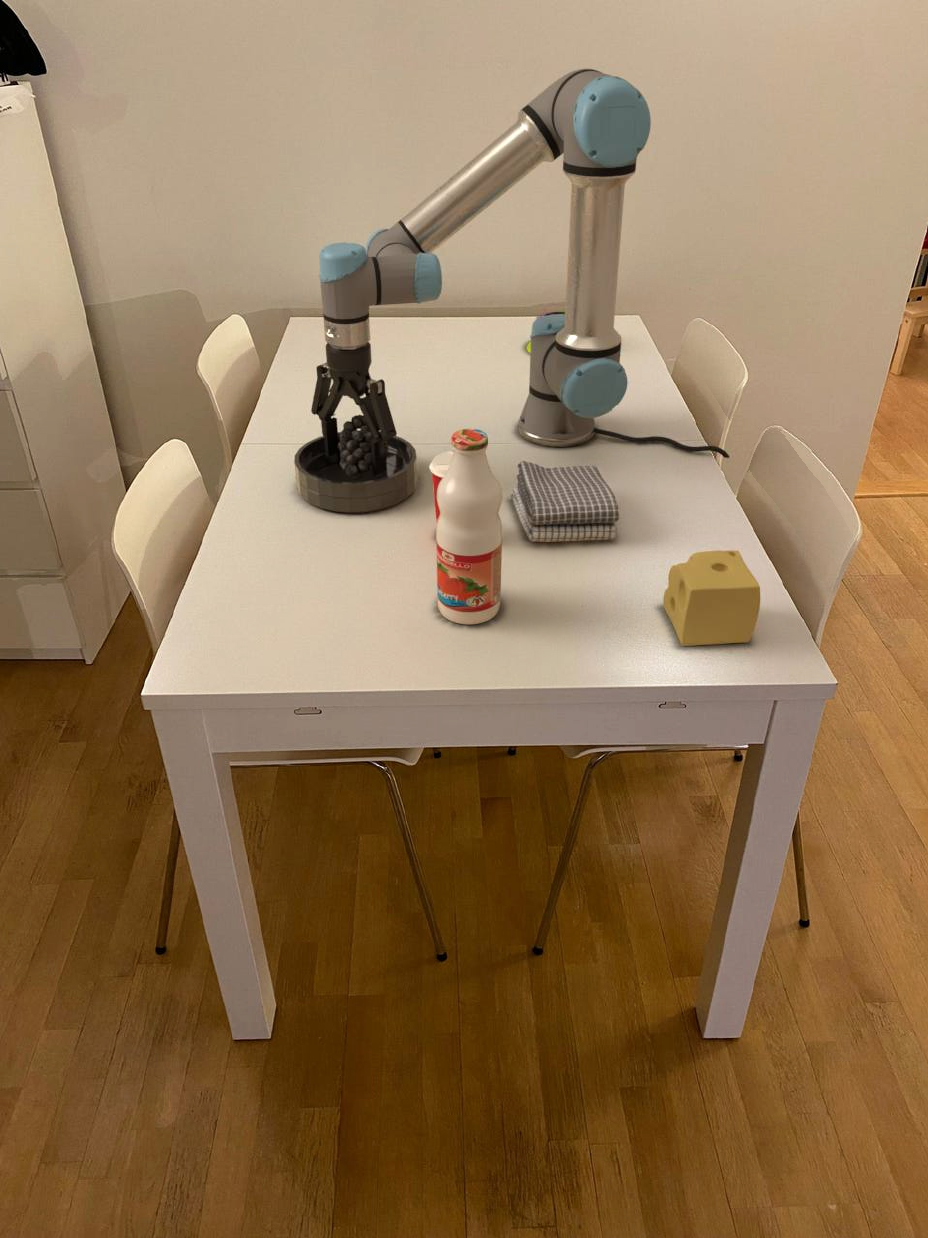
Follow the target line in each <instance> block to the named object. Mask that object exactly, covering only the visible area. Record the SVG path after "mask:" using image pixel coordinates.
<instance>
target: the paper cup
mask: <svg viewBox="0 0 928 1238" xmlns="http://www.w3.org/2000/svg"><path fill="white" fill-rule="evenodd" d="M453 453H454V450H453V451H452V450H451V451H450V450H449V451H445V452H440V453H439V454H437V455H435V456H434V458H433V459H432V460H431V463H430V464H429V466H428V468H429V470H430V472H431V474H432V486H433V498H434V509H435V510H434V511H435V521H436V524H437V521H438V518H439V516H440V509H439V506H438V503H437V488H438V485H439V483H440V481H441V480H442V478H443V477H444V475H445V474H446V472H447V470H448V468H449V465H450V462H451V459H452V456H453Z"/></svg>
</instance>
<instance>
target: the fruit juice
mask: <svg viewBox="0 0 928 1238" xmlns="http://www.w3.org/2000/svg"><path fill="white" fill-rule="evenodd" d="M450 444H451V449H452V450H453V451H454V453H453V456H452V459H451V462H450V465H449V468H448V470H447V472H446V474H445V475H444V477H443V478H442V480H441V481H440V483H439V485H438V488H437V503H438V506H439V509H440V516H439V518H438V521H437V523H436V530H435V531H436V532H435V540H436V541H435V542H436V543H435V544H436V593H437V594H436V595H437V597H436V599H437V600H436V601H437V607H438V610H439V613H440V614H441V615H442V616H443V617H444V618H445V619H447V620H449V621H451V622H453V623H456V624H461V625H478V624H483V623H486V622H488V621H490V620H491V619H493V618H494V617H496V616H497V614H498V612H499V610H500V607H501V593H502V592H501V591H502V559H503V556H502V553H503V524H502V523H503V522H502V519H501V516H500V514H499V512H500V508H501V506H502V502H503V488H502V486H501V483H500V482H499V479H498V478H497V477H496V476H495V475H494V473H493V472H492V469H491V466H490V464H489V460H488V457H487V452H486V450H487V449H488V447H489V437H488V434H487V432H485V431H483V430H480V429H476V428H463V429H459V430H456V431H454V432H453V433H452V435H451V441H450Z"/></svg>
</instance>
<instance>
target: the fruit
mask: <svg viewBox="0 0 928 1238" xmlns="http://www.w3.org/2000/svg"><path fill="white" fill-rule="evenodd" d="M342 427H343V429H342V430H341V431H339V432H340V433H339V434H338V435H337V438H338V440H339V441H341V442H340V443H339V444H338V448H339V449H340V452H341V454H340V458H341V461H340V465H341V467H342V469H343V471H344V472H346V473H347V475H348V476H351V477H352V478H353V479H356V480H358V479H360V478H361V477H362V472H368V471H369V470H370V465H372V452H371V439H373V438H374V436H373V434H372V432H371V430H370V428H369V426H368V424H367V421H366V419H365V417H364V415H363V414H357V415H353V416H352V417H351V419H350V421H349V420H346V421H345V422H344V423H343V426H342ZM358 430H360V431H358ZM379 433H380V430H379Z"/></svg>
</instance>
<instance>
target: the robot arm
mask: <svg viewBox="0 0 928 1238" xmlns="http://www.w3.org/2000/svg"><path fill="white" fill-rule="evenodd" d="M651 124H652V119H651V112H650V108H649V104H648V102H647V100H646V98H645V96H644V95H643V94H642V92H641V91H640V90H639V89H638V88H637V87H635V86H634V85H633V84H632V83H630V82H629V81H628V80H626V79H624V78H622V77H619V76H614V75H611V74H607V73H605V72H602V71H599V70H598V69H597V70H596V69H593V68H579V69H576V70H572V71H570V72H567V73H566V74H564V75H562V76H561V77H559V78H558V79H556V80H555V81H554V82H553V83H551V84H550V85H549V86H547V87H546V88H545V89H544V90H543V91H541V92H540V93H539V94H538V95H537V96H535V98H533V99H532V100H531V101H530V102H529V103H527V104H526V105H524V107H522V108H521V110H519V111H518V114H517V120H516V122H515V123H513V125H511V126H510V127H509V128H507V130H505V131H504V132H503V133H502V134H501V135H499V137H497V138H496V139H495V140H494V141H492V142H491V143H490V144H489V145H488V146H486V147H485V148H484V149H483V150H482V151H481V152H479V153H478V154H477V155H476V156H474V158H472V159H471V160H470V161H468V163H466V164H465V165H464V166H463V167H461V168H460V169H459V170H458V171H457V172H456V173H455V174H453V175H452V176H451V177H449V179H447V180H446V181H445V182H444V183H442V184H441V185H440V186H439V187H438V188H437V189H435V190H434V191H433V192H432V193H431V194H430V195H428V196H427V197H426V198H425V199H423V201H421V202H420V203H418V204H417V205H416V206H415V207H414V208H413V209H412V210H411V211H409V212H408V213H407V214H406V215H405V216H403V217H402V218H401V219H400V220H398V221H397V222H395V224H393V225H392V226H391V227H390V228H381V229H378V230H376V231H375V232H373V233H372V234H371V235H370V236H369V238H368V239H367V241H366V244H365V246H363V245H362V244H359V243H356V242H335V243H330V244H327V245H326V246H324V247H323V248H322V249H321V250H320V252H319V282H320V283H319V285H320V295H321V305H322V315H323V326H324V327H323V329H324V341H325V342H326V344H325V359H326V362H324V363H321V364H319V365H317V366H316V383H315V388H314V394H313V398H312V403H311V408H310V412H311V414H312V415H314V416H315V415H317V416H318V419H319V420H320V424H321V426H320V427H321V435H322V436H324V440H325V452H326V456H328V457H329V456H331V455H333V454H335V453H337V452H339V448H338V444H339V441H338V438H337V435H338V432H339V431H338V430H339V429H338V418H337V417H334V416H336V415H337V414H336V410H337V408H338V406H339V405H340V402H341V401H342V399H343V397H348V398H350V399H352V400H353V401H354V404H355V405H356V406H358V407H359V409H360V411H361V414H362V416H363V415H364V417H365V419H366V421H367V424H368V426H369V428H370V430H371V432H372V434H373V436H374V438H373V439H371V452H372V470H373V474H374V475H377V474H379V473H381V472H383V471H385V470H386V455H387V454H388V448H387V447H388V445H387V440H388V439H390V438H392V437H394V436H397V434H398V433H397V429H396V426H395V422H394V419H393V416H392V412H391V408H390V405H389V401H388V398H387V395H386V383H385V381H384V379H378V380H376V379H373V378H372V377H371V375H370V368H371V365H372V361H373V360H372V345H371V343H370V341H371V327H370V326H371V325H370V324H371V323H370V307H373V306H386V305H390V306H391V305H403V304H405V305H406V304H419V305H420V304H421V303H427V302H434V301H437V300H438V299H439V298H440V296H441V294H442V291H443V290H442V289H443V273H442V267H441V262H440V259H439V257H438V255H436V254H435V253H433V252H434V251H436V250H437V249H439V248H440V247H441V246H442V245H443V244H445V243H446V242H447V241H448V240H449V239H451V238H452V237H454V235H455V234H457V233H458V232H459V231H460V230H462V229H463V228H464V227H465V226H466V225H467V224H469V223H470V222H471V221H473V220H474V219H475V218H476V217H478V216H479V215H480V214H481V213H482V212H484V211H485V210H486V209H487V208H488V207H490V206H491V205H492V204H494V202H496V201H497V200H498V199H499V198H500V197H502V196H503V195H504V194H506V193H507V192H508V191H509V190H511V189H512V188H513V187H514V186H515V185H516V184H518V183H519V182H520V181H521V180H523V179H524V178H525V177H526V176H527V175H529V174H530V173H531V172H532V171H534V170H535V169H536V168H537V167H539V166H540V165H541V164H542V163H543V162H546V163H547V162H548V163H553V162H555V160H557V159H558V158H559V157H560V156H562V155H563V156H562V157H563V158H562V159H563V160H562V161H563V162H562V172H563V174H564V175H565V176H566V177H567V178H568V179H569V180H570V181H569V182H571V189H570V190H571V191H570V207H569V209H570V211H569V230H568V231H569V233H568V252H567V254H568V255H567V271H566V292H565V309H564V312H565V314H554V315H547V316H543V315H542V317H538V318H537V319H536V318H535V320H534V321H533V322H532V326H531V332H530V333H531V334H530V335H529V338H530V342H531V353H529V354H530V355H529V356H530V357H529V384H528V386H529V387H528V395H527V398H526V400H525V402H524V405H523V407H522V408H523V409H522V411H521V412H520V416H519V419H518V434H519V435H520V436H521V437H522V438H523V439H525V440H527V441H528V442H530V443H533V444H536V445H540V446H545V447H555V448H565V447H575V446H578V445H581V444H585V443H587V442H589V441H590V440H592V439H593V438H594V435H595V434H598V435H601V436H602V435H603V436H606V437H611V438H615V439H619V440H621V441H625V442H631V443H649V442H650V443H651V442H660V443H665V444H669V445H671V446H673V447H675V448H677V449H680V450H682V451H685V452H692V453H693V452H695V453H696V452H715V453H718V454H720V455H721V456H722V457H723V458H725V459H729V458H730V455H729V453H727V452H726V450H724V449H723V448H721V447H719V446H716V445H701V446H700V445H699V446H691V445H685V444H683V443H680V442H679V441H676V440H674V439H672V438H669V437H665V436H657V435H655V436H653V435H652V436H643V437H642V436H641V437H637V436H636V437H635V436H631V435H625V434H621V433H618V432H614V431H610V430H605V429H601V428H596V421H595V418H599V417H602V416H604V415H608V414H609V413H610V412H612V411H613V409H615V407H616V406H618V405H620V403H621V402H622V400H623V398H625V395H626V392H627V389H628V383H629V381H628V375H627V372H626V369H625V368H624V366H623V365H622V364H621V351H622V335H621V334H620V333H619V332H618V330H616V329H615V327H614V326H615V315H616V303H617V302H616V301H617V289H618V279H619V277H618V276H619V264H620V263H619V262H620V252H621V251H620V250H621V239H622V238H621V237H622V225H623V213H624V202H625V201H624V200H625V189H626V188H625V187H626V183H627V181H629V180H630V179H631V178H632V176H634V175H635V174H636V171H637V170H636V169H637V159H638V156H639V155H640V153H641V152H642V150H644V149H645V146H646V145H647V142H648V140H649V137H650V133H651ZM331 384H332V385H331ZM364 395H365V396H364ZM363 396H364V397H363ZM379 431H380V433H379Z"/></svg>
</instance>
